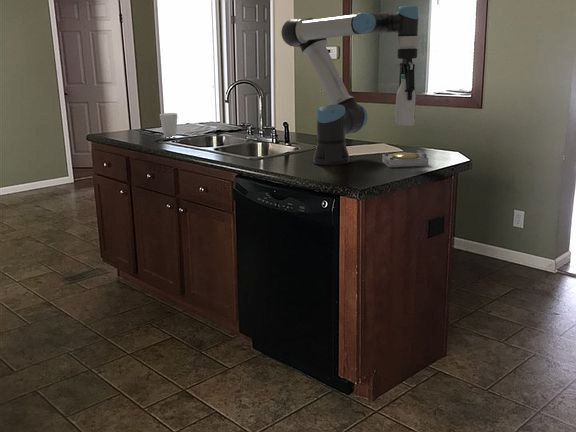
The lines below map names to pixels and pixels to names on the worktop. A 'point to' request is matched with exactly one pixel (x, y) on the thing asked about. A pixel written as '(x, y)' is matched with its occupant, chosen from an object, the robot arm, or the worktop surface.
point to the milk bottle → (404, 115)
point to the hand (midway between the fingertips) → (406, 107)
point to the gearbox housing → (405, 159)
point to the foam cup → (169, 124)
